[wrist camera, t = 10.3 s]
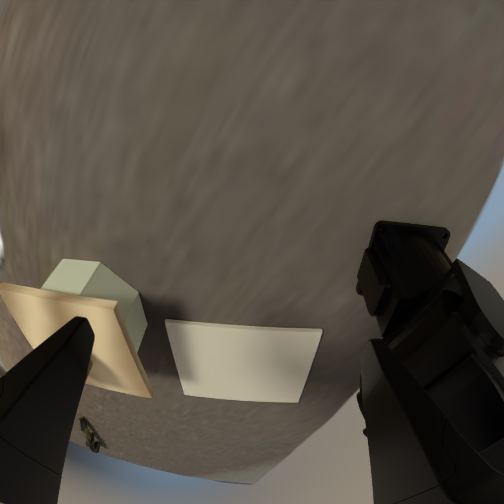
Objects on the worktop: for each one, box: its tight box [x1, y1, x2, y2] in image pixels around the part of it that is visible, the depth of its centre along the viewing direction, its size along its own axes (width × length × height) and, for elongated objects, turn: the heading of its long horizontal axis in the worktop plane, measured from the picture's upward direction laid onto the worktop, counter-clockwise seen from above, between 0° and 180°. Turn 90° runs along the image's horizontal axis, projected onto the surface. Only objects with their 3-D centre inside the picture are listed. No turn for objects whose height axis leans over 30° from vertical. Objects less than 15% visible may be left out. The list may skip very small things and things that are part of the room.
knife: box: [79, 417, 100, 453], centre depth 52 cm, size 23×2×5 cm, turn 164°
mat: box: [165, 319, 322, 402], centre depth 30 cm, size 14×14×1 cm
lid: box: [0, 282, 154, 398], centre depth 20 cm, size 12×12×5 cm
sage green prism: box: [41, 259, 148, 352], centre depth 24 cm, size 10×10×5 cm
